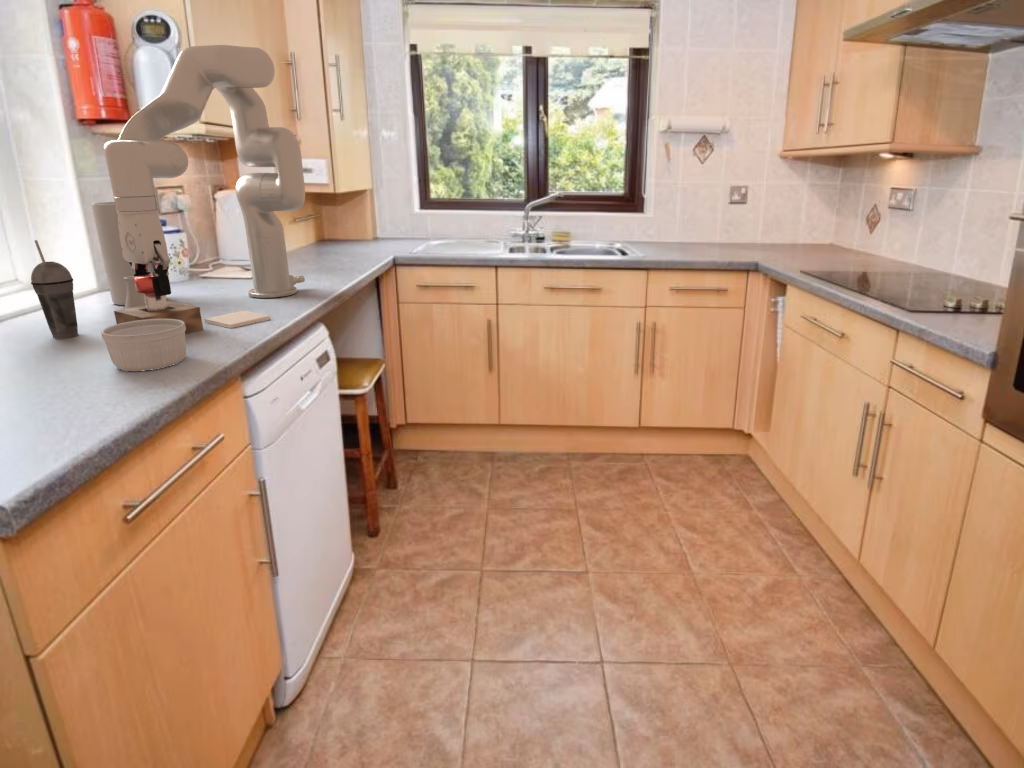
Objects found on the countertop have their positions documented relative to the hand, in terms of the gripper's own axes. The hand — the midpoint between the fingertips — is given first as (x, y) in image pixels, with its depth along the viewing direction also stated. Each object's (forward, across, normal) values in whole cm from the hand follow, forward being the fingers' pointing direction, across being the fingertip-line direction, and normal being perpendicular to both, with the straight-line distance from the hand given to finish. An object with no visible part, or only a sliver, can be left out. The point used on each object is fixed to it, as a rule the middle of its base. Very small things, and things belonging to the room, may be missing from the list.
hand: (154, 292), depth 136 cm
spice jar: (+8, 0, 0) cm, 8 cm away
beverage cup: (+9, -14, -13) cm, 21 cm away
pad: (+9, +5, +15) cm, 18 cm away
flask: (+9, -15, +3) cm, 18 cm away
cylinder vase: (+9, -37, +14) cm, 40 cm away
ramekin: (+9, +21, -13) cm, 26 cm away
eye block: (+8, 0, 0) cm, 8 cm away
